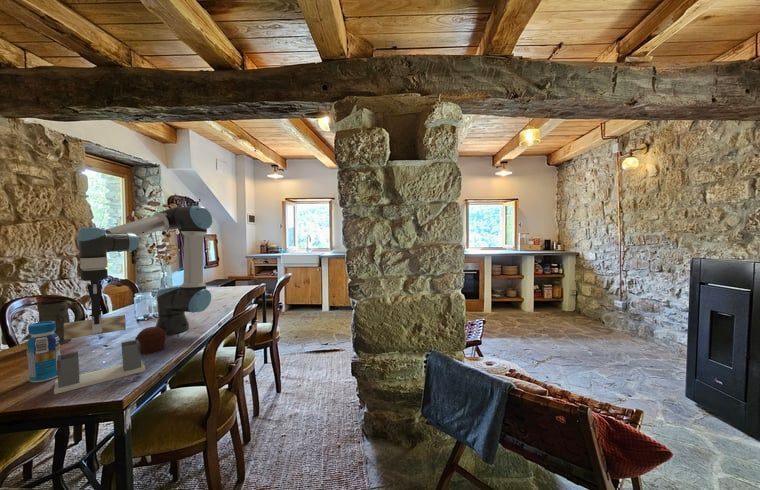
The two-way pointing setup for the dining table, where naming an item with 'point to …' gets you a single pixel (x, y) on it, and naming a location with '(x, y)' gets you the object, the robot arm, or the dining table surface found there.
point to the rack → (73, 379)
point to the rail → (86, 327)
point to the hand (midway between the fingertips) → (97, 330)
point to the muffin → (151, 340)
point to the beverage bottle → (42, 351)
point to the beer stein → (58, 315)
